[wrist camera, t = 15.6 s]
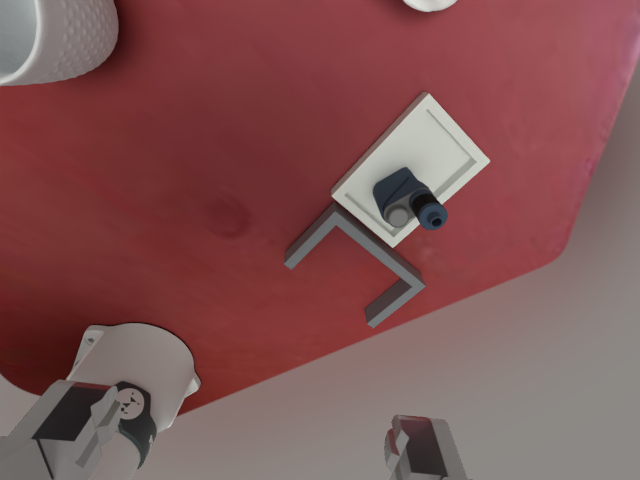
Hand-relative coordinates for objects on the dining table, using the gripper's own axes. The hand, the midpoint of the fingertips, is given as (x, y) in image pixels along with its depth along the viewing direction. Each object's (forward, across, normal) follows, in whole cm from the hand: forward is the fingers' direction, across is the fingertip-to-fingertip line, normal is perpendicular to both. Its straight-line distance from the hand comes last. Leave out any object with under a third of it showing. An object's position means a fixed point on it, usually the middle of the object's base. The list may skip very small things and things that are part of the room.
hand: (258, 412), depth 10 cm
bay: (+31, -8, +13) cm, 35 cm away
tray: (+31, -12, 0) cm, 33 cm away
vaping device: (+31, -10, +2) cm, 32 cm away
